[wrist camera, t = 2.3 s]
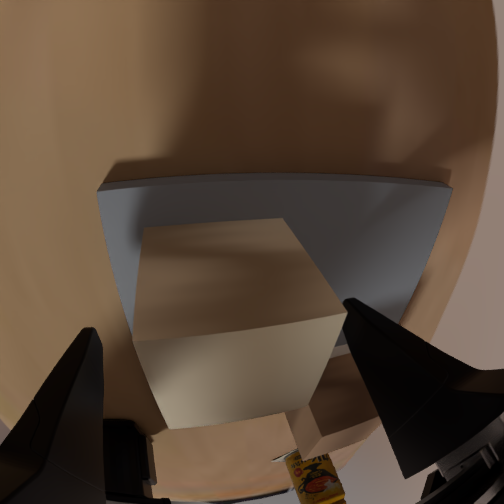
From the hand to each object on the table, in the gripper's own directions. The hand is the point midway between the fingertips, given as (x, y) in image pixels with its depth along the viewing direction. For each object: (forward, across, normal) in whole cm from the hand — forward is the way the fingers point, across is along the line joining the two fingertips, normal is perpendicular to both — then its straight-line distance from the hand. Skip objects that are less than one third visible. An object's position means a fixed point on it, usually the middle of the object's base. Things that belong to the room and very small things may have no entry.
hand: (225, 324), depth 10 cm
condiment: (+4, -12, +35) cm, 37 cm away
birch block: (+2, 0, 0) cm, 2 cm away
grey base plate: (+3, -4, +5) cm, 7 cm away
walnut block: (+2, -7, +10) cm, 12 cm away
